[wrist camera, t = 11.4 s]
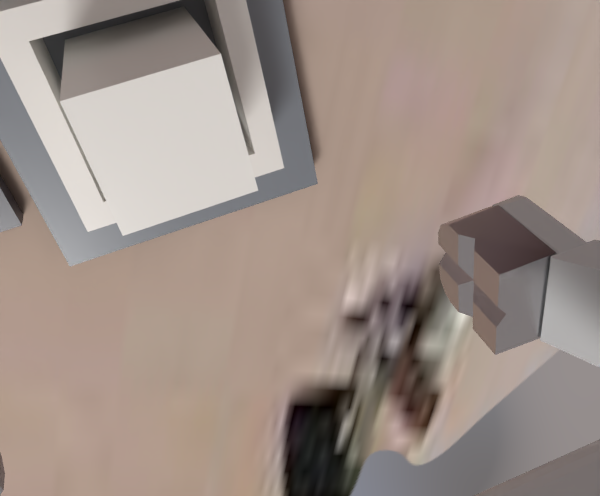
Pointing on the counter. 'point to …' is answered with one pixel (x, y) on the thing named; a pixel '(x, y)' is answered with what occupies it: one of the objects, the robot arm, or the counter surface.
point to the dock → (65, 146)
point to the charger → (155, 119)
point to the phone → (8, 209)
